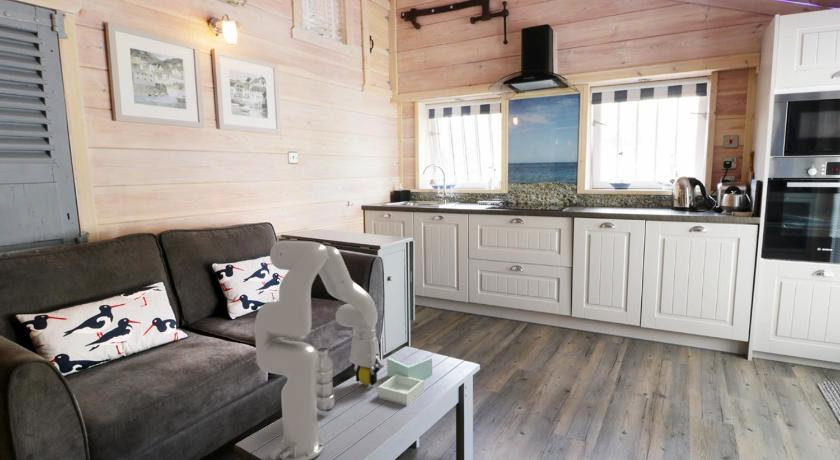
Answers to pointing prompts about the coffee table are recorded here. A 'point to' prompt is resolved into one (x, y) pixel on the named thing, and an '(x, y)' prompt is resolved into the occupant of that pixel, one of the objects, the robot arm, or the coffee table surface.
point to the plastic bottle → (324, 381)
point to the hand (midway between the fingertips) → (366, 381)
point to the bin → (401, 389)
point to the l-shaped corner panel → (410, 369)
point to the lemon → (364, 375)
